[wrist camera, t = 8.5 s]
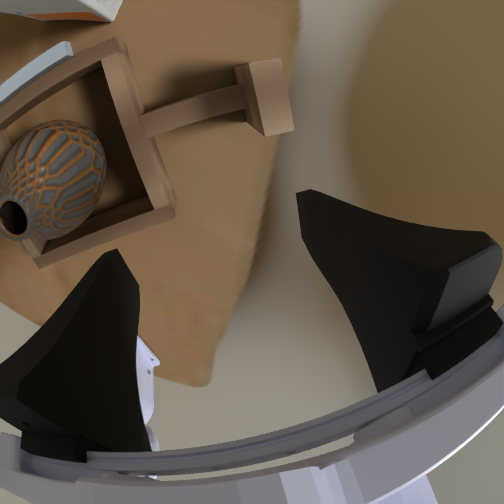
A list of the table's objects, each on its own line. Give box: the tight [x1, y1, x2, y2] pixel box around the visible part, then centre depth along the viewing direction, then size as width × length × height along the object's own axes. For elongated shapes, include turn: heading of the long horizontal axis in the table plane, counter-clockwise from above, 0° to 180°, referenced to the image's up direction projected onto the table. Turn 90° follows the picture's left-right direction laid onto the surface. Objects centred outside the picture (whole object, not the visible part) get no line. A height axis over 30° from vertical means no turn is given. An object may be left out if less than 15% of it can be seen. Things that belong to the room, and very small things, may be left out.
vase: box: [0, 120, 107, 241], centre depth 12 cm, size 7×7×9 cm
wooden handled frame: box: [0, 37, 294, 269], centre depth 14 cm, size 12×20×5 cm, turn 102°
